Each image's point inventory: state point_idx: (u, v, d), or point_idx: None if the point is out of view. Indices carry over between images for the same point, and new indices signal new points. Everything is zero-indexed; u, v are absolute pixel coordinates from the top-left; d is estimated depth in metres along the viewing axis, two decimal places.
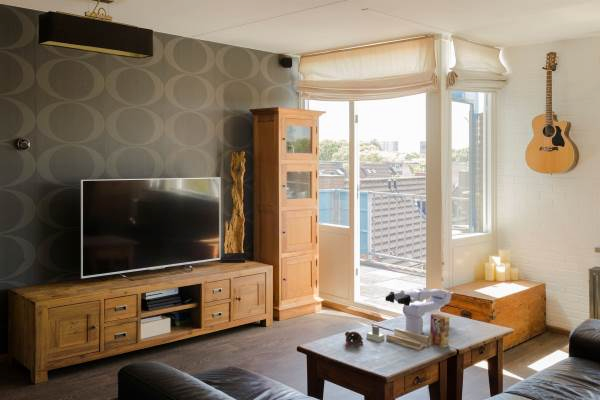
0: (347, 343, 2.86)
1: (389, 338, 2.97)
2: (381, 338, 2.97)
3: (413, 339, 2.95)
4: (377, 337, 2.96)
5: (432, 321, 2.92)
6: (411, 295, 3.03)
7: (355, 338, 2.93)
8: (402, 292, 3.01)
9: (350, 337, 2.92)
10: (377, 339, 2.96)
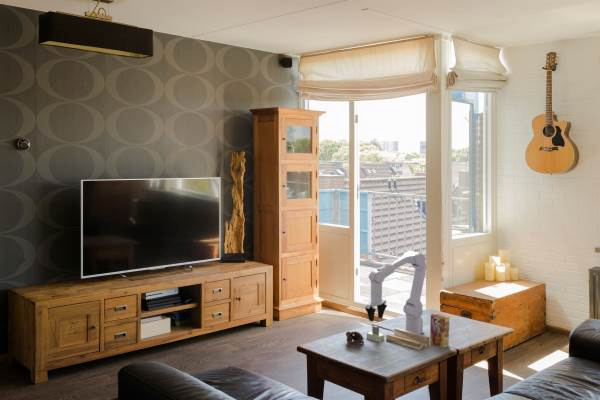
0: (348, 343, 2.86)
1: (389, 338, 2.97)
2: (381, 338, 2.97)
3: (413, 339, 2.95)
4: (377, 337, 2.96)
5: (432, 321, 2.92)
6: (371, 294, 2.97)
7: (356, 338, 2.93)
8: None
9: (351, 337, 2.93)
10: (377, 339, 2.96)
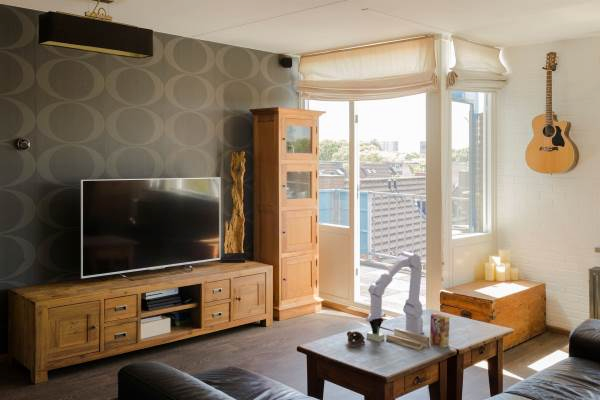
0: (349, 343, 2.86)
1: (389, 338, 2.97)
2: (381, 338, 2.97)
3: (413, 339, 2.95)
4: (377, 337, 2.96)
5: (432, 321, 2.92)
6: (371, 307, 2.98)
7: (357, 338, 2.93)
8: None
9: (352, 337, 2.93)
10: (377, 339, 2.96)
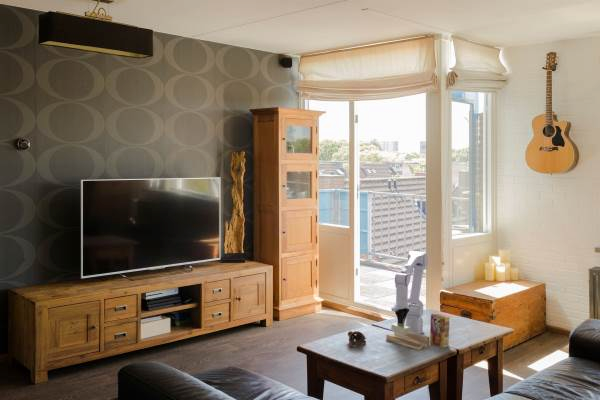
0: (350, 343, 2.86)
1: (389, 338, 2.97)
2: (406, 330, 2.91)
3: (413, 339, 2.95)
4: (402, 329, 2.90)
5: (432, 321, 2.92)
6: (396, 297, 2.92)
7: (358, 338, 2.93)
8: None
9: (353, 337, 2.93)
10: (402, 331, 2.91)
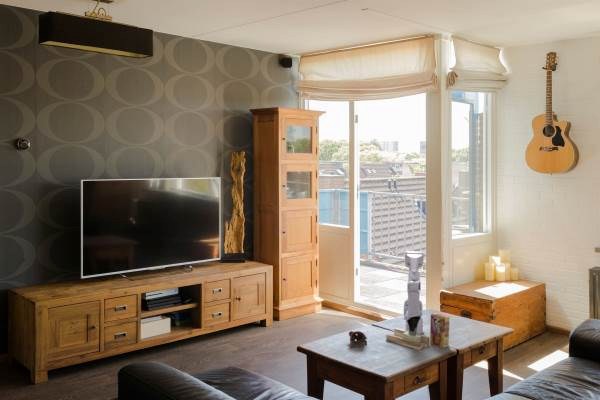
0: (351, 343, 2.87)
1: (389, 338, 2.97)
2: (418, 340, 2.90)
3: None
4: (414, 338, 2.89)
5: (432, 321, 2.92)
6: (408, 304, 2.90)
7: (359, 338, 2.94)
8: None
9: (354, 337, 2.93)
10: (414, 340, 2.89)
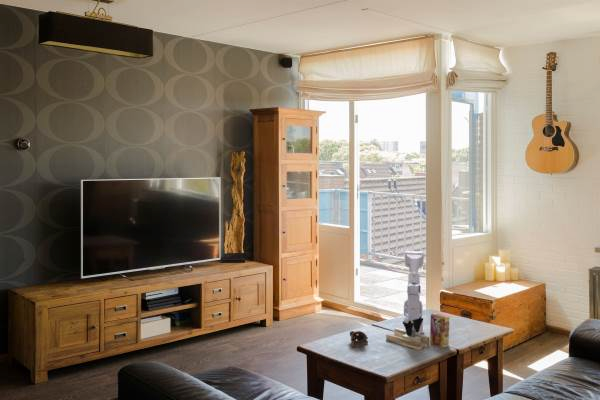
0: (352, 343, 2.87)
1: (389, 338, 2.97)
2: (418, 341, 2.90)
3: None
4: (414, 340, 2.89)
5: (432, 321, 2.92)
6: (408, 307, 2.90)
7: (360, 337, 2.94)
8: None
9: (355, 337, 2.93)
10: None
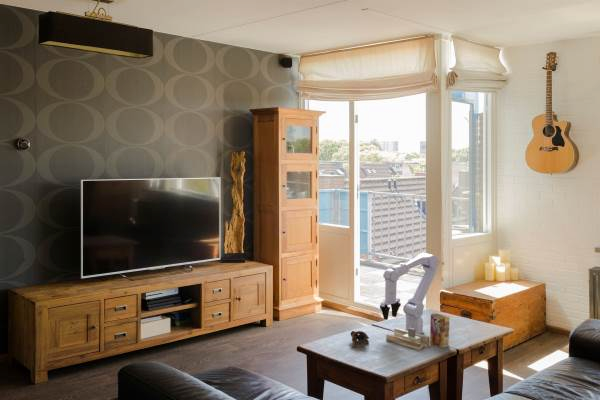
0: (353, 342, 2.87)
1: (389, 338, 2.97)
2: (418, 341, 2.90)
3: None
4: (414, 340, 2.89)
5: (432, 321, 2.92)
6: (385, 292, 3.00)
7: (361, 337, 2.94)
8: None
9: (356, 336, 2.93)
10: None
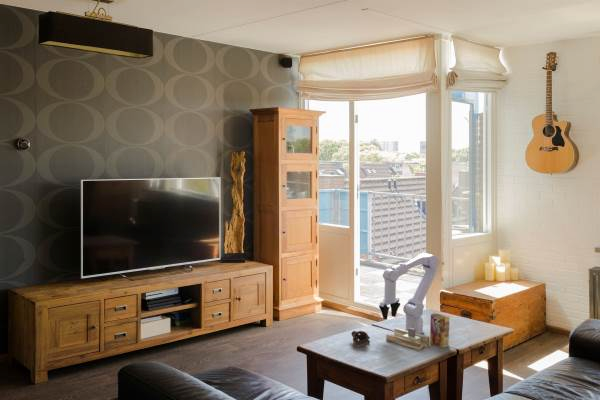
0: (354, 342, 2.87)
1: (389, 338, 2.97)
2: (418, 341, 2.90)
3: None
4: (414, 340, 2.89)
5: (432, 321, 2.92)
6: (385, 292, 3.01)
7: (361, 337, 2.94)
8: None
9: (357, 336, 2.93)
10: None
